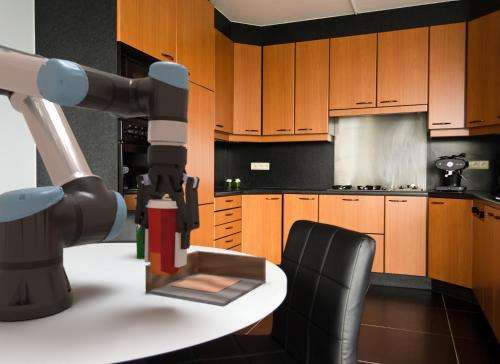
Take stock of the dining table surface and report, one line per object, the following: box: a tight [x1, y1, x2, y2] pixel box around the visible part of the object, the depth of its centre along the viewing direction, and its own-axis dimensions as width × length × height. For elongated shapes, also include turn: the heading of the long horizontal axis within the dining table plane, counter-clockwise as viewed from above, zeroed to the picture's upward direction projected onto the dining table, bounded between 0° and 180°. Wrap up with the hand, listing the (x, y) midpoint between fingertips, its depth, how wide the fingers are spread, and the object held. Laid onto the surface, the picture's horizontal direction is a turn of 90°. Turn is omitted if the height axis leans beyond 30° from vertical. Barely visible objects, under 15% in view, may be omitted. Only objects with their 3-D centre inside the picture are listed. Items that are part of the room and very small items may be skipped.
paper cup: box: [146, 198, 180, 275], centre depth 77 cm, size 8×8×14 cm
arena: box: [145, 250, 267, 307], centre depth 92 cm, size 20×20×6 cm
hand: (165, 263), depth 77 cm, fingers closed on paper cup, 7 cm apart
